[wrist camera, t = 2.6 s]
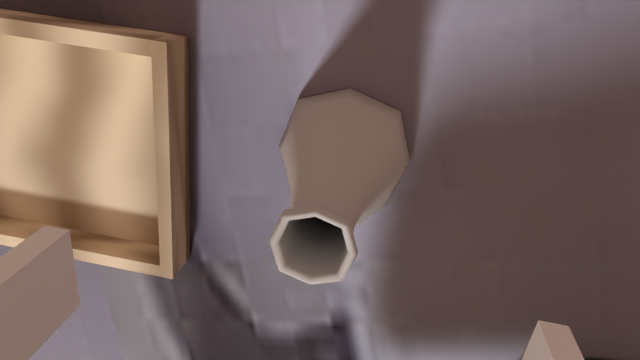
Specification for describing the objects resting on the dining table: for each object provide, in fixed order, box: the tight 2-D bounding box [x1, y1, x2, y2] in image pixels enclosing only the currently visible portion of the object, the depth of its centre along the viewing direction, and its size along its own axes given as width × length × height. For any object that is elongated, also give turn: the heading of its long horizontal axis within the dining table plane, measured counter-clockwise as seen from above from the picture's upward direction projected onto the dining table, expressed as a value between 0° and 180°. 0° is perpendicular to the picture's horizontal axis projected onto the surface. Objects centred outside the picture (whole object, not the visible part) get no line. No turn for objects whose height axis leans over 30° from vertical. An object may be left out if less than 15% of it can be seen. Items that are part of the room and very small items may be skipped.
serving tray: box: [0, 8, 190, 279], centre depth 27 cm, size 14×14×2 cm
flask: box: [270, 88, 410, 285], centre depth 21 cm, size 7×7×10 cm
